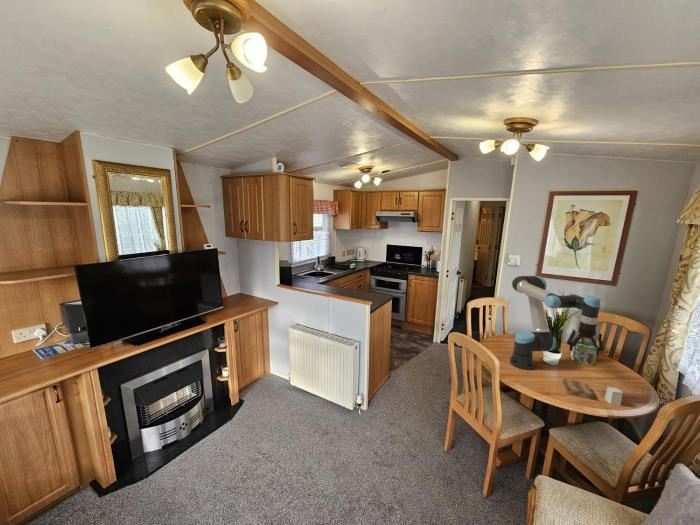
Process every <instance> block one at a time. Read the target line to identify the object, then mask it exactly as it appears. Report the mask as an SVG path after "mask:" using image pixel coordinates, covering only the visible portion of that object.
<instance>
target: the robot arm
mask: <svg viewBox="0 0 700 525" xmlns="http://www.w3.org/2000/svg"><path fill="white" fill-rule="evenodd" d="M511 286H512V288H513V289H514V290H515V291H516V292H518V293H520V294H524V295H526V296H527V298H528V303H529V304H528V305H529V310H530V316H531V323H532V331H518V332H517V333H516V334H515V337H514V346H513V352H512V354H511V355H510V357H509V363H511V364H510V365H511V366H513V367H515V368H517V369H521V370H528V371H529V370H530V371H531V370H533V369H534V367H535V363H534V359H533V353H534V352H551V351H554V349H555V348H556V347H557V339H556V337H555V336H554V335H553V334H552V333H551V331H550V330H549V329H548V325H547V319H546V313H545V309H544V308H545V307H543V306H544V305H545V306H546V307H547V308H550V309H578V310H580V311H581V315H580V321H579V325H578V326H579V327H578V329H575V328H572V329H571V333H570V335H569V337H568V339H567V341H566V344H567V345H568V346H569V351H570V357H573V355H574V349H575V347H574V345H575V344H576V343H577V342H578V341H581V340H582V338H583V339H589V340H590V341H591V344H593V345H594V346H595V347H596V348H597V355H596V356H597V357H598V356H599V353H600V351H604V345H603V340H602V337H603V334H602V333H601V332H597V324H598V318H599V312H600V308H601V299H600V297H597V296H592V295H585V296H584V297H583V296H579V295H577V294H573V293H568V294H566V295H560V294H559V295H558V294H555V293H553V292H551V291H548V290H546V289H547V282H546V280H545V279H544V278H543V277H542V276H540V275H519V276H516V277H515V278H513V279H512V282H511ZM542 302H543V303H542ZM577 333H578V335H577V336H576V337H575V335H576V334H577ZM551 334H552V335H553V336H554V337H553V336H552V335H551ZM595 336H596V337H597V342H598V345H597V342H596V340H595V338H594V337H595ZM598 346H599V348H598Z"/></svg>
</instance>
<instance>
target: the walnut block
mask: <svg viewBox="0 0 700 525" xmlns="http://www.w3.org/2000/svg"><path fill="white" fill-rule="evenodd" d="M562 385H563V386H564V390H565V392H566V394H567V395H571V396H574V397H579V398H583V399H588V400H591V401H592V400H593V397H594V393H593V391H592V389H591V388H590V386H589V384H588V383H586V382H582V381H577V380H573V379H572V380H571V379H568V378H563V381H562Z"/></svg>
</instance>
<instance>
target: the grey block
mask: <svg viewBox="0 0 700 525" xmlns="http://www.w3.org/2000/svg"><path fill="white" fill-rule="evenodd" d="M605 388H606V389H605V396H604V400H605V401H606V402H608V403H609V405H613V406H614V405H615V406H621V404H622V400H623V399H622V398H623V394H624V392H623V391H622V390H620V389H619V388H618V387H614V386H606V387H605Z"/></svg>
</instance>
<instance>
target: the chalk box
mask: <svg viewBox="0 0 700 525" xmlns="http://www.w3.org/2000/svg"><path fill="white" fill-rule="evenodd" d="M592 344H593V343H592V342H587V341H586V338H581V340H579V341H578V342H577V343H576V344H575V345H574V347H575V349H574V355H573V357H571V356H569V357H570V358H569V359H571V360H572V361H573V363H575V364H576V365H577V366H587V367H592V368H593V367H595V368H596V361H597V358H596V355H597V348H596V347H595V346H593V345H592Z"/></svg>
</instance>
